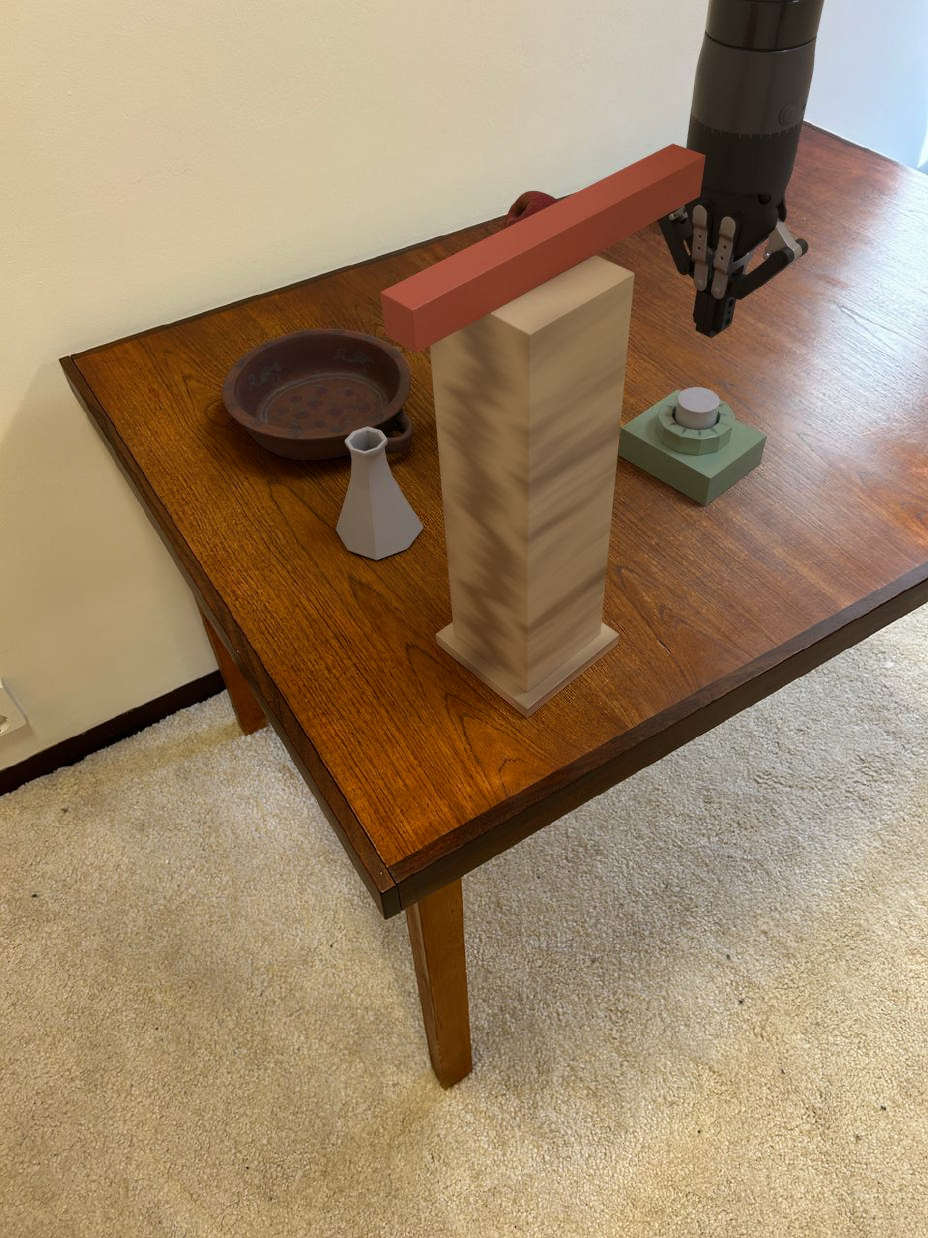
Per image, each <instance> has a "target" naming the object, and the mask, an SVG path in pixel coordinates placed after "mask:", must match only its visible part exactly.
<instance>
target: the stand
mask: <svg viewBox="0 0 928 1238" xmlns="http://www.w3.org/2000/svg"><path fill="white" fill-rule="evenodd" d="M635 276H636V274H635V272H634V271H631V270H629V269H627V268H624V267H623V266H620V265H618V264H616V263H614V262H612V261H609V260H607V259H605V258H603V257H601V256H599V255H597V254H595V255H593V256H591V257H590V258H588V259H586V260H584V261H582V262H581V263H579V264H577V265H575V266H573V267H572V268H570V269H568V270H566V271H564V272H563V273H561V274H559V275H557V276H555V277H554V278H552V279H550V280H548V281H546V282H545V283H543V284H541V285H539V286H537V287H535V288H534V289H532V290H530V291H528V292H526V293H525V294H523V295H521V296H519V297H517V298H516V299H514V300H512V301H510V302H508V303H507V304H505V305H503V306H501V307H499V308H498V309H496V310H494V311H492V312H490V313H489V314H487V315H485V316H483V317H481V318H480V319H478V320H476V321H474V322H472V323H471V324H469V325H467V326H465V327H463V328H462V329H460V330H458V331H456V332H454V333H452V334H451V335H449V336H447V337H445V338H443V339H442V340H440V341H438V342H436V343H434V344H433V345H431V346H429V351H430V353H429V354H430V367H431V377H432V379H431V380H432V391H433V402H434V411H435V412H434V414H435V425H436V426H435V427H436V436H437V450H438V461H439V462H438V463H439V473H440V487H441V497H442V508H443V509H442V511H443V519H444V532H445V544H446V545H445V546H446V555H447V566H448V569H447V570H448V580H449V581H448V582H449V591H450V592H449V593H450V605H451V616H452V617H451V618H452V621H451V622H450V623H448V625H446V626H444V628H442V629H441V630H439V631H437V632H436V633H435V642H436V645H437V646H439V647H440V648H441V649H442V650H443V651H444V652H446V653H447V654H448V655H450V656H451V657H452V658H453V659H454V660H455V661H457V662H458V663H459V664H460V665H462V666H463V667H464V668H465V669H467V670H468V671H469V672H470V673H471V674H472V675H474V676H475V677H476V678H478V679H479V680H480V681H481V682H482V683H484V685H486V686H487V687H488V688H489V689H491V690H492V691H493V692H494V693H496V694H497V695H498V696H499V697H500V698H501V699H503V700H504V701H506V703H508V704H509V705H510V706H511V707H512V708H514V709H515V710H516V711H517V712H519V714H521V715H522V716H523V717H524V718H526V719H528V718H529V717H530V716H532V715H533V714H534V713H536V712H537V711H538V710H540V709H541V708H542V707H543V706H544V705H545V704H547V703H548V702H549V701H551V700H552V699H553V698H554V697H555V696H557V694H559V693H560V692H562V691H563V690H564V689H565V688H566V687H567V686H569V685H570V684H571V683H573V682H574V681H575V680H576V679H577V678H579V677H580V676H581V675H582V674H583V673H584V672H586V671H587V670H588V669H589V668H591V667H592V666H593V665H594V664H596V663H597V662H598V661H599V660H601V659H602V658H603V657H605V656H606V655H607V654H608V653H609V652H611V651H612V650H613V649H614V648H616V646H618V644H619V640H620V634H619V633H618V632H617V631H615V630H614V629H613V628H612V627H610V626H608V625H607V624H606V623H604V622H603V612H604V601H605V592H606V581H607V569H608V559H609V550H610V549H609V548H610V541H611V539H610V538H611V528H612V517H613V507H614V497H615V496H614V495H615V485H616V477H617V476H616V475H617V464H618V456H619V455H618V454H619V443H620V433H621V422H622V412H623V402H624V401H623V400H624V392H625V391H624V390H625V381H626V371H627V360H628V358H627V357H628V348H629V337H630V327H631V317H632V306H633V296H634V286H635Z"/></svg>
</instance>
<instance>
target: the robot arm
mask: <svg viewBox="0 0 928 1238" xmlns="http://www.w3.org/2000/svg"><path fill="white" fill-rule="evenodd" d="M824 4H825V0H708V4H707V11H706V20H705V29H704V33H703V39H702V44H701V48H700V51H699V55H698V59H697V63H696V68H695V74H694V83H693V90H692V97H691V98H692V99H691V106H690V114H689V121H688V129H687V135H686V136H687V138H686V145H685V148H687V149H690V150H692V151H695V152H698V153H701V154H703V155H705V164H704V171H703V178H702V185H701V192H700V196H699V197H698V198H696V199H694V200H692V201H691V202H689V203H687V204H685V205H683V206H682V207H680V208H678V209H676V210H674V211H673V212H671V213H669V214H667V215H665V216H664V217H662V218H660V219H658V220H656V221H657V223H658V226H659V228H660V231H661V234H662V236H663V238H664V240H665V241H664V242H665V243H666V246H667V248H668V250H669V253H670V255H671V258H672V261H673V263H674V265H675V268H676V269H677V271H678V273H679V274H680V275H681V276H687V275H688V276H689V277H690V278H691V279H692V280H693V285H694V287H695V289H696V292H695V298H694V306H693V311H692V319H693V320H692V321H693V323H695V328H694V329H695V332H697V333H698V334H701V335H703V336H706V337H708V338H709V339H713V338H715V337H716V336H717V335H719V334H721V333H722V332H724V331H725V330H726V329H728V328H729V327H730V326H731V325H732V324H733V319H734V315H735V309H736V303H737V301H741V300H743V299H744V298H746V297H748V296H749V295H751V294H753V293H754V292H755V291H757V290H759V289H760V288H762V287H763V286H764V285H766V284H767V283H768V282H769V281H771V280H773V279H774V277H776V276H777V275H779V274H780V273H782V272H783V271H784V270H786V269H787V268H788V267H790V266H791V265H792V264H794V263H795V262H796V261H798V260H799V259H800V258H802V257H803V256H805V255H806V254H807V253H808V251H809V244H808V241H807V240H806V239H804V238H801V237H799V238H796V239H795V238H794V236H793V235H792V233H791V231H790V230H789V229H788V227H787V225H786V224H785V222H786V220H787V216H788V209H787V204H786V190H787V188H788V185H789V184H790V180H791V177H792V174H793V170H794V166H795V161H796V156H797V152H798V148H799V142H800V139H801V138H800V136H801V133H802V129H803V123H804V119H805V115H806V114H805V113H806V110H807V104H808V100H809V95H810V90H811V86H812V81H813V76H814V69H815V57H816V45H817V40H818V39H817V38H818V32H819V28H820V24H821V20H822V19H821V18H822V14H823V10H824V9H823V8H824ZM767 239H768V240H769V242H768V244H767V246H766V247H765V248H764V253H763V255H762V258H763V260H764V261H762V263H760V264H759V265H758V266H757V267H755V268H754V269H753V270H751V271H749V273H747V270H748V266H749V263H750V261H752V259H753V257H754V255H755V252H756V249H757V248H758V247H759V246H760V245H762V244H763V243H764V242H765V241H766V240H767ZM685 244H686V245H685ZM687 248H688V250H687ZM688 251H689V252H688ZM746 273H747V274H746Z"/></svg>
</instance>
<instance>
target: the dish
mask: <svg viewBox="0 0 928 1238" xmlns="http://www.w3.org/2000/svg"><path fill="white" fill-rule="evenodd" d="M411 387H412V374H411V369H410V366H409V364H408V361H407V358H405V356H404V355H403V354H402V353H401V351H400V350H399V349H397V348H396V347H394V346H393V345H392V344H391V343H389V342H387V341H385V340H383V339H381V338H379V337H377V336H374V335H371V334H368V333H365V332H359V331H356V330H349V329H343V328H342V329H341V328H311V329H304V330H297V331H293V332H290V333H287V334H284V335H281V336H277V337H275V338H272V339H270V340H268V341H265V342H263V343H261V344H257V345H256V346H254V347H252V348H250V349H248V350H247V351H246V352H245V353H244V354H242V356H240V358H238V359H237V360H236V361H235V363H234V364H233V365H232V366H231V367H230V369H229V370H228V371H227V374H226V375H225V378H224V380H223V385H222V387H221V399H222V403H223V406H224V408H226V409H225V410H226V411H227V413H228V415H230V416H231V417H232V419H234V420H235V421H236V422H237V423H238V424H240V425H242V427H243V428H244V430H246V432H247V433H248V434H249V435H250V437H251V438H252V439H253V440H254V441H255V442H256V443H258V444H259V445H260V447H262V448H264V449H265V450H266V451H268V452H271V453H272V454H274V455H276V456H279V457H282V458H285V459H288V460H289V459H290V460H295V461H320V460H322V461H323V460H332V459H336V458H340V457H344V456H348V455H351V452H350V450H349V449H348V447H347V446H346V444H345V440H346V439H347V438H348V436H349V435H350V434H351V433H352V432H353V431H356V430H359V429H362V428H365V427H371V428H374V429H378V430H381V431H382V433H383V434H384V435H385V437H386V436H387V435H388V434H389V433H391V432H394V431H395V432H399V433H401V434H400V435H399V436H394V437H393V436H392V437H389V436H388V437H386V438H387V441H388V443H387V445H386V446H385V454H386V455H396V454H401V453H403V452H405V451H407V450H408V449H410V447H411V446H412V444H413V438H414V430H415V429H414V424H413V422H412V420H411V418H410V417H409V416H408V414H406V413H405V412H404V409H403V407H404V405H405V404H406V401H407V400H408V398H409V396H410V392H411V389H412V388H411Z"/></svg>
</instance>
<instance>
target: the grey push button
mask: <svg viewBox="0 0 928 1238" xmlns="http://www.w3.org/2000/svg"><path fill="white" fill-rule="evenodd" d="M681 391H682V392H680V394H679V395H678V398H677V405H676V412H675V421H676V422H677V424H678V425H680V426H682V427H684V428H686V429H692V430H705V429H710V428H711V427H713V426H714V425H715V423H716V420H717V415H718V409H719V404H720V400H721V399H720V397H719V395H718V393H716V392H715V391H713V390H712V389H709V388H705V387H701V386H693V387H688V388H685V389H683V390H681Z"/></svg>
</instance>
